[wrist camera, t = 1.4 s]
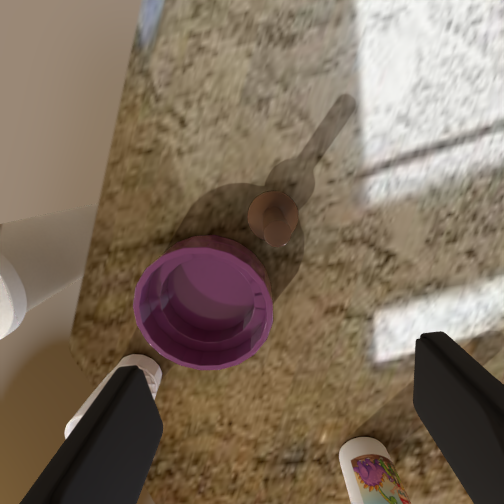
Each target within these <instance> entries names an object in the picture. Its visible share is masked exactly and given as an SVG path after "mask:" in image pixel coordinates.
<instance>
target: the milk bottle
mask: <svg viewBox="0 0 504 504" xmlns="http://www.w3.org/2000/svg"><path fill="white" fill-rule="evenodd" d="M339 460H340V464H341V468H342V471H343V475H344V479H345V482H346V486H347V490H348V493H349V497H350V501H351V504H411V502H410V500H409V498H408V496H407V494H406V491H405V489H404V487H403V485H402V482H401V480H400V478H399V476H398V474H397V471H396V469H395V467H394V465H393V463H392V460H391V458H390V456H389V454H388V452H387V450H386V448H385V446H384V445H383V444H382V443H381V442H380V441H378V440H376V439H374V438H370V437H358V438H354V439H351V440H349V441H348V442H346V443H345V444H344V445H343V446H342V447H341V449H340V453H339Z"/></svg>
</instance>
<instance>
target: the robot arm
mask: <svg viewBox="0 0 504 504" xmlns="http://www.w3.org/2000/svg"><path fill="white" fill-rule="evenodd" d="M413 403H414V407H415V410H416V412H417V414H418V416H419V417H420V419H421V420H422V422H423V424H424V425H425V427H426V428H427V430H428V431H429V433H430V435H431V436H432V438H433V439H434V441H435V443H436V444H437V446H438V447H439V449H440V450H441V452H442V454H443V455H444V457H445V458H446V460H447V462H448V463H449V465H450V466H451V468H452V469H453V471H454V473H455V474H456V476H457V477H458V479H459V480H460V482H461V484H462V485H463V487H464V488H465V490H466V492H467V493H468V495H469V496H470V498H471V499H472V501H473V503H474V504H504V385H503V384H502V383H501V382H500V381H499V380H498V379H496V378H495V377H494V376H492V375H491V374H490V373H489V372H488V371H487V370H486V369H485V368H484V367H482V366H481V365H480V364H479V363H478V362H477V361H476V360H475V359H474V358H472V357H471V356H470V355H469V354H468V353H467V352H466V351H465V350H464V349H462V348H461V347H460V346H459V345H458V344H457V343H456V342H455V341H454V340H452V339H451V338H450V337H449V336H448V335H447V334H446V333H444V332H441V331H440V332H431V333H423V334H421V336H420V339H417V340H416V347H415V370H414V393H413ZM162 433H163V423H162V420H161V418H160V415H159V412H158V409H157V407H156V404H155V401H154V399H153V396H152V393H151V390H150V388H149V385H148V382H147V380H146V377H145V374H144V372H143V370H142V369H139V367H138V366H137V365H132V366H123V367H119V368H117V370H116V371H115V372H114V373H113V375H112V376H111V378H110V379H109V380H108V382H107V383H106V385H105V386H104V387H103V389H102V390H101V392H100V393H99V394H98V396H97V397H96V398H95V400H94V401H93V403H92V404H91V405H90V407H89V408H88V410H87V411H86V412H85V414H84V415H83V416H82V418H81V419H80V421H79V422H78V423H77V425H76V426H75V428H74V429H73V430H72V432H71V433H70V434H69V436H68V437H67V439H66V440H65V441H64V443H63V444H62V446H61V447H60V448H59V450H58V451H57V453H56V454H55V455H54V457H53V458H52V459H51V461H50V462H49V464H48V465H47V466H46V468H45V469H44V471H43V472H42V473H41V475H40V476H39V477H38V479H37V480H36V482H35V483H34V485H33V486H32V487H31V489H30V490H29V491H28V493H27V494H26V496H25V497H24V498H23V500H22V501H21V502H20V504H136V503H137V500H138V498H139V495H140V492H141V490H142V487H143V485H144V482H145V479H146V477H147V474H148V471H149V469H150V466H151V463H152V461H153V458H154V455H155V453H156V450H157V447H158V444H159V442H160V439H161V436H162Z"/></svg>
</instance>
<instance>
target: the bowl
mask: <svg viewBox="0 0 504 504" xmlns="http://www.w3.org/2000/svg"><path fill="white" fill-rule="evenodd" d="M133 309H134V314H135V318H136V323H137V326H138V327H139V329H140V331H141V333H142V334H143V336H144V338H145V339H146V341H147V342H148V343H149V344H150V345H151V346H152V347H153V348H154V349H155V350H156V351H157V352H158V353H159V354H161V355H162V356H164V357H165V358H167V359H169V360H171V361H173V362H175V363H177V364H179V365H181V366H185V367H189V368H194V369H198V370H221V369H224V368H228V367H231V366H235V365H238V364H240V363H242V362H243V361H245V360H246V359H248V358H250V357H251V356H253V355H254V354H255V353H256V352H257V351H258V350H259V348H260V347H261V346H262V345H263V343H264V342H265V341H266V340H267V338H268V335H269V332H270V329H271V326H272V324H273V301H272V290H271V282H270V280H269V277H268V275H267V272H266V269H265V267H264V265H263V264H262V263H261V262H260V260H259V259H258V258H257V257H256V256H255V254H254V253H253V252H252V251H251V250H249V249H247V248H246V247H244V246H243V245H241V244H240V243H238V242H236V241H235V240H231V239H227V238H224V237H220V236H216V235H205V236H193V237H190V238H188V239H185V240H182V241H179V242H177V243H175V244H174V245H173V246H172V247H171V248H169V249H168V250H167V251H166V252H164V253H163V254H162V255H161V256H160V257H159V258H158V259H156V260H155V261H154V262H153V263H152V264H151V265H150V266H148V267H147V268H146V269H145V271H144V273H143V274H142V276H141V278H140V280H139V281H138V283H137V285H136V288H135V295H134V302H133Z"/></svg>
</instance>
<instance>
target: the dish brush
mask: <svg viewBox="0 0 504 504" xmlns="http://www.w3.org/2000/svg"><path fill="white" fill-rule="evenodd" d="M297 223H298V209H297V206H296V204H295V203H294V201H293V200H292V199H291V198H290V197H289V196H288V195H286V194H284V193H282V192H279V191H267V192H264V193H262V194H260V195H259V196H257V197H256V198H255V199H254V200H253V202H252V203H251V205H250V207H249V210H248V224H249V227H250V229H251V230H252V232H253V233H254V234H255V235H256V236H257V237H259V238H260V239H262V240H265V241H266V242H267V243H268V244H269V245H271V246H273V247H281V246H284V245H285V244H287V243H288V242H289V240H290V238H291V233H292V232H293V231H294V229H295V228H296V226H297Z"/></svg>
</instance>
